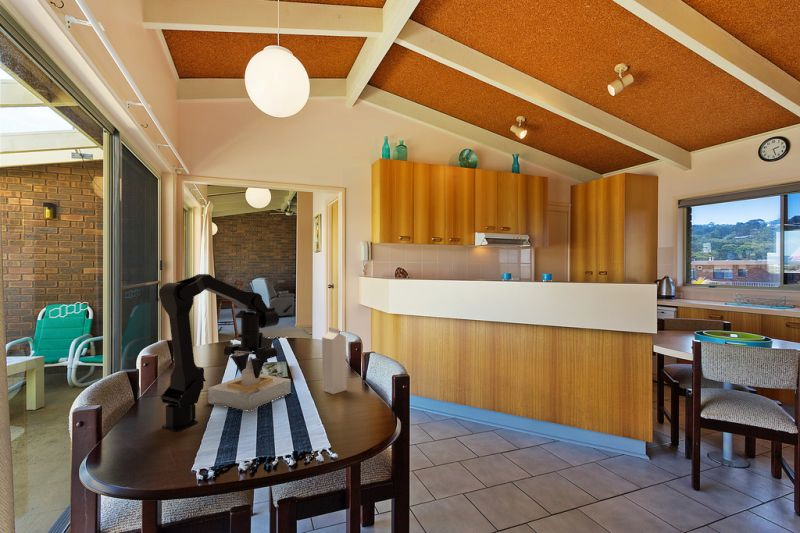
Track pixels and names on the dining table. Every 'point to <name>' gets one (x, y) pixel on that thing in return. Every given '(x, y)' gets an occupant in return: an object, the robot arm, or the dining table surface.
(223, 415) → the dining table surface
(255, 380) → the eye dropper bottle
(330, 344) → the milk
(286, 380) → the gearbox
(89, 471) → the dining table surface
